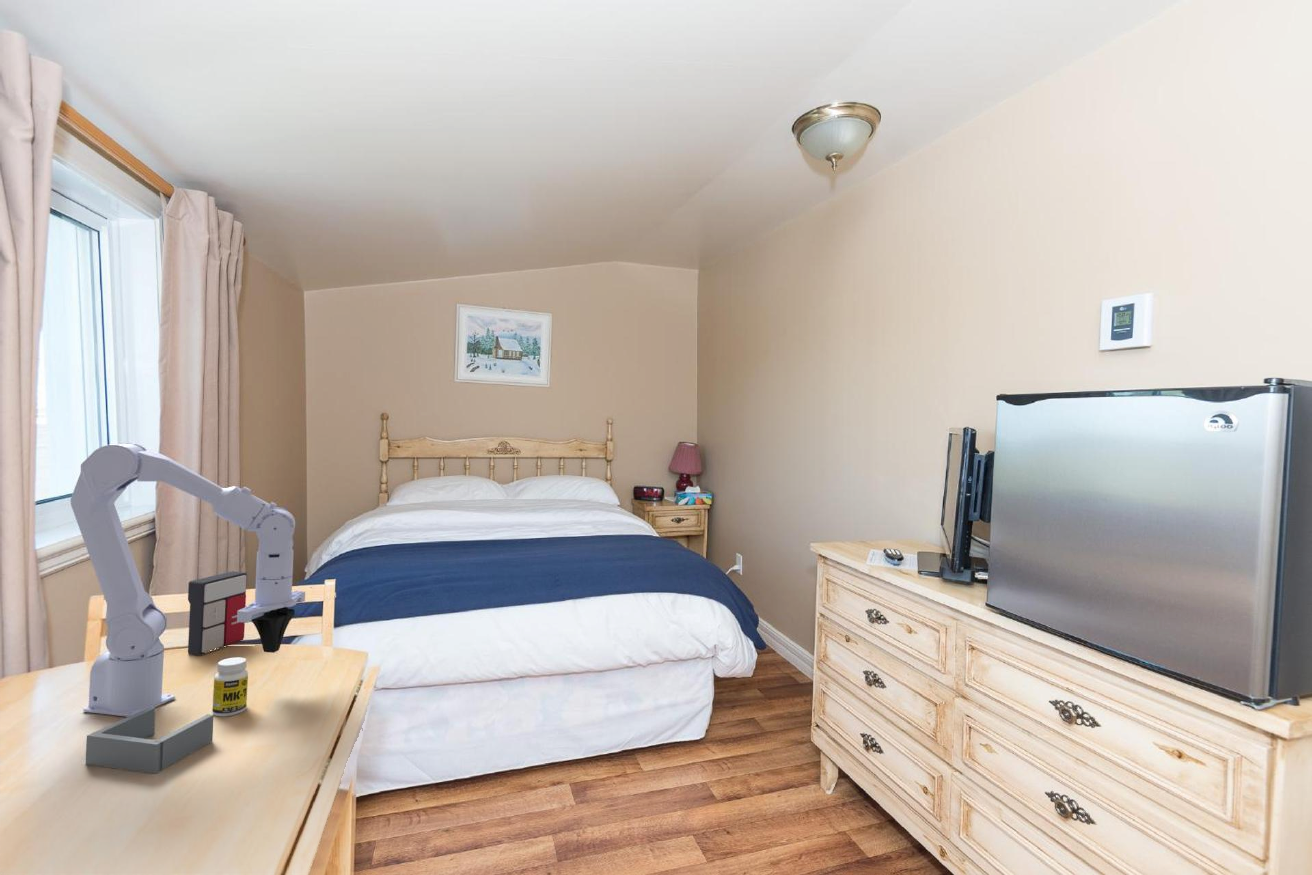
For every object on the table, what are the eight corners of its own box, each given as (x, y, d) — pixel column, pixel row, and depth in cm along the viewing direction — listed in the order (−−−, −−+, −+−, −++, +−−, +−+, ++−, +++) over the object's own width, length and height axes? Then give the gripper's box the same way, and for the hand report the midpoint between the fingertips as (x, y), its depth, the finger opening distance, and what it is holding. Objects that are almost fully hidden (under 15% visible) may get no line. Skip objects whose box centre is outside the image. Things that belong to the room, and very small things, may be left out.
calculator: (202, 656, 130) (205, 583, 130) (184, 654, 131) (188, 581, 131) (246, 640, 141) (250, 572, 141) (230, 638, 142) (233, 570, 142)
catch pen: (85, 764, 89) (86, 735, 89) (148, 733, 98) (149, 707, 98) (155, 773, 87) (156, 744, 87) (212, 741, 97) (213, 714, 97)
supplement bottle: (220, 720, 104) (223, 668, 104) (206, 712, 106) (209, 661, 106) (252, 709, 108) (254, 660, 108) (238, 702, 110) (240, 654, 110)
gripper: (264, 587, 108) (261, 667, 108) (320, 569, 123) (317, 640, 123) (227, 584, 109) (224, 663, 109) (287, 567, 124) (284, 637, 124)
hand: (271, 650), depth 116 cm, fingers closed
